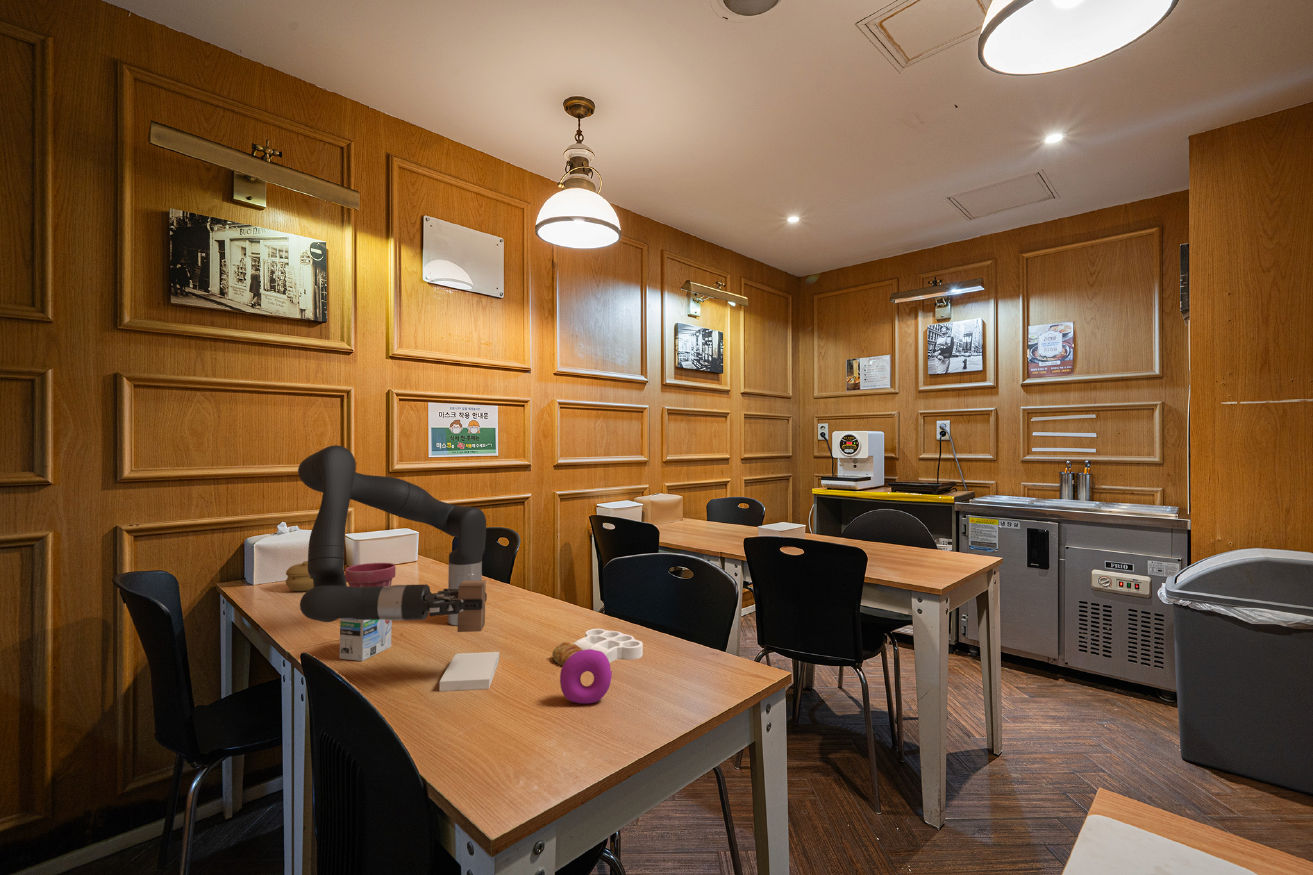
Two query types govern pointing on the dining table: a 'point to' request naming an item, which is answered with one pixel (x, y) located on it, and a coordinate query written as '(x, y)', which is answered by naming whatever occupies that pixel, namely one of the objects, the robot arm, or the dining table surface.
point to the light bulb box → (363, 638)
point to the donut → (576, 667)
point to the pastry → (564, 652)
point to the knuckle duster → (611, 644)
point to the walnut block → (472, 618)
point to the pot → (299, 577)
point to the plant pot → (370, 574)
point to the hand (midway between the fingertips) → (484, 600)
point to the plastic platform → (470, 671)
